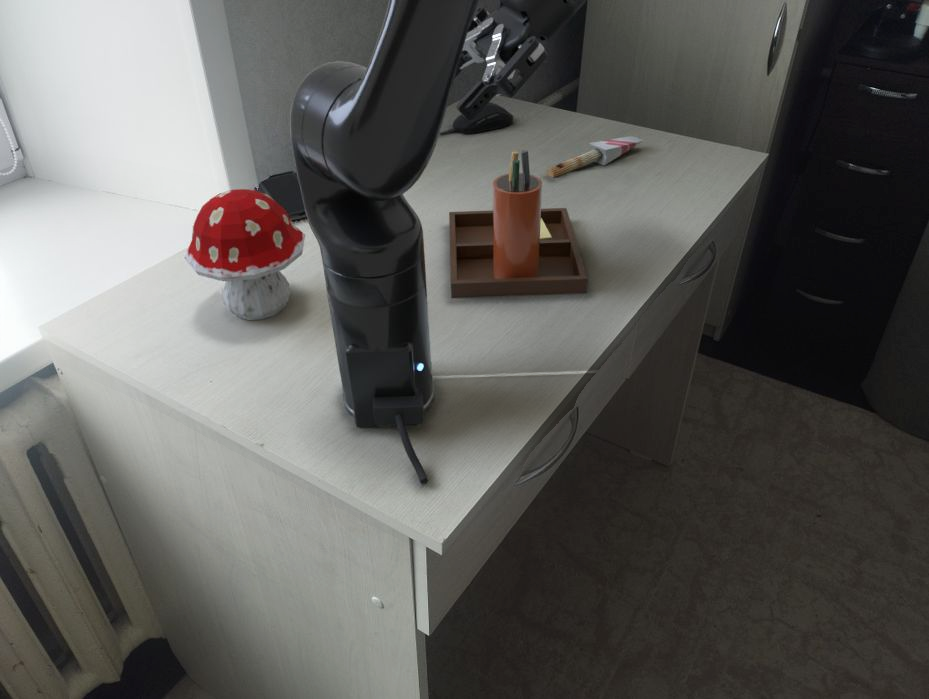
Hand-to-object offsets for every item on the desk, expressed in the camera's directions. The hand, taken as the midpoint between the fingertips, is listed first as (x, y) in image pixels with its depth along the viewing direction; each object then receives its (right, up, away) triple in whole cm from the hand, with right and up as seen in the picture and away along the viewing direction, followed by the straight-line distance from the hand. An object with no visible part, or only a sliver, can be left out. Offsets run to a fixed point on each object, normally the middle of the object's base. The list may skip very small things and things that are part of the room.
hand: (446, 100), depth 83 cm
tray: (+8, -15, +17) cm, 25 cm away
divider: (+8, -15, +17) cm, 25 cm away
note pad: (+10, -12, +21) cm, 26 cm away
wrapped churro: (+24, +3, +42) cm, 48 cm away
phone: (-25, -4, +34) cm, 42 cm away
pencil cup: (+9, -18, +13) cm, 24 cm away
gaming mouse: (+4, +14, +56) cm, 58 cm away
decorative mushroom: (-23, -22, +10) cm, 34 cm away
